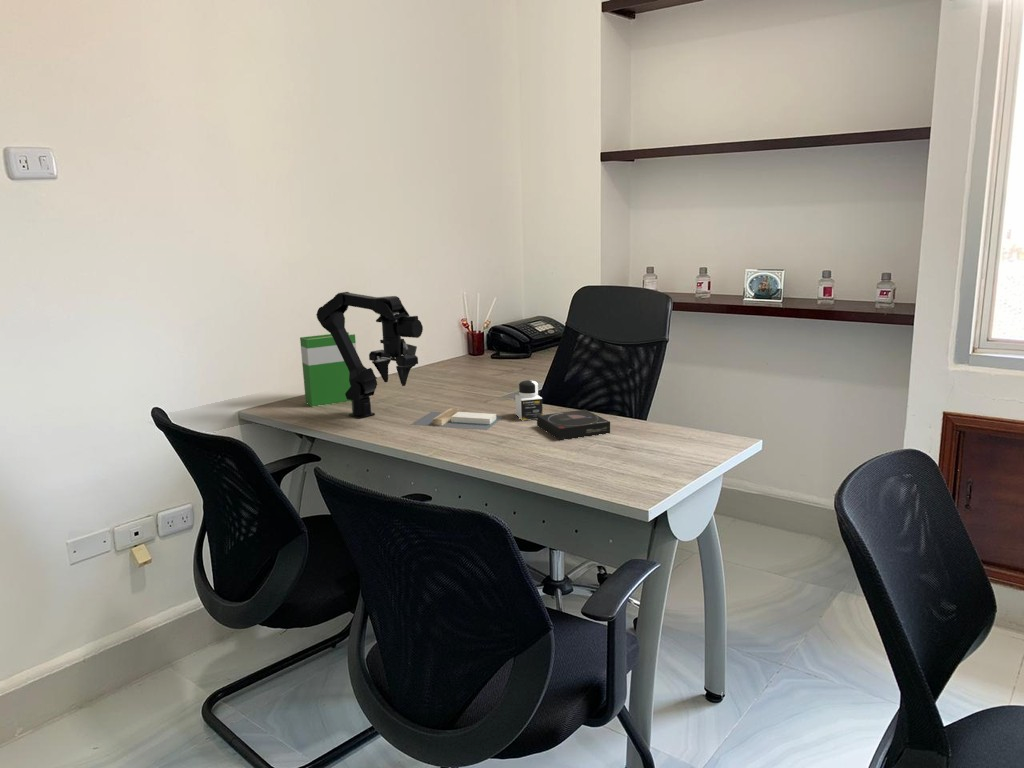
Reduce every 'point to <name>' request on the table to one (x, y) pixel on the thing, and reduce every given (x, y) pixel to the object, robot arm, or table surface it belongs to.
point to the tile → (473, 418)
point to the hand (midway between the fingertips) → (394, 383)
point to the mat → (428, 421)
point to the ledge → (445, 416)
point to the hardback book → (324, 370)
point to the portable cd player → (573, 424)
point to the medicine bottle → (528, 401)
